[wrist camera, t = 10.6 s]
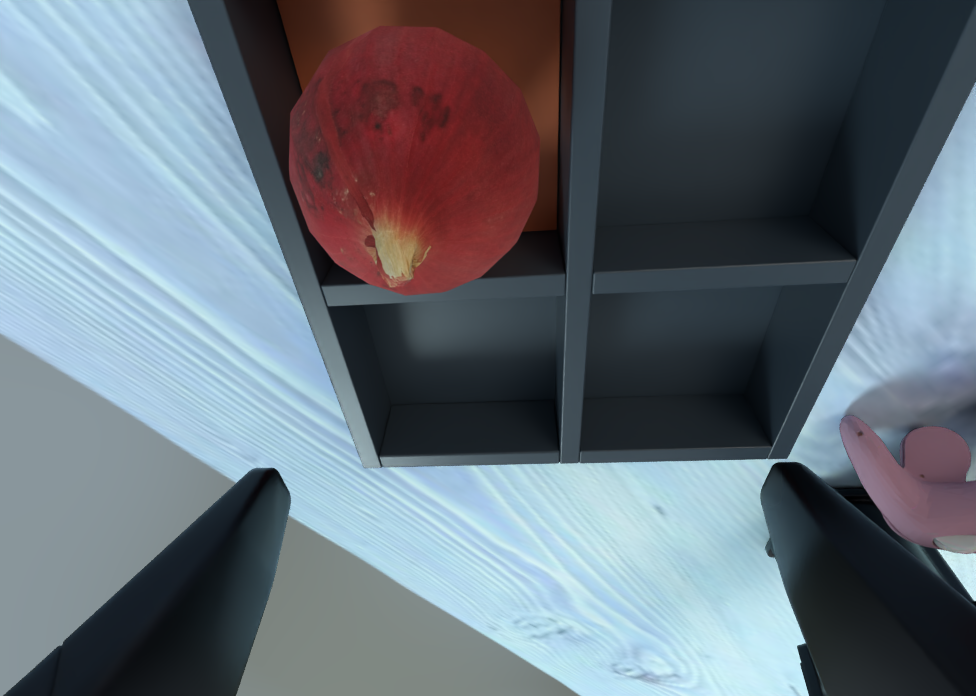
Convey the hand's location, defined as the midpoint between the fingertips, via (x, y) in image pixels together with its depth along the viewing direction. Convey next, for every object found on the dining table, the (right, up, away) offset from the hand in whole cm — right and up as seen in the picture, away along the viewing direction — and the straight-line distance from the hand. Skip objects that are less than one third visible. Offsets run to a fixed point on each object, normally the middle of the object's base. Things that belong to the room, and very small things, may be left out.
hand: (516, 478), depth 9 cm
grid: (+2, +7, +8) cm, 11 cm away
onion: (-2, +9, +6) cm, 11 cm away
